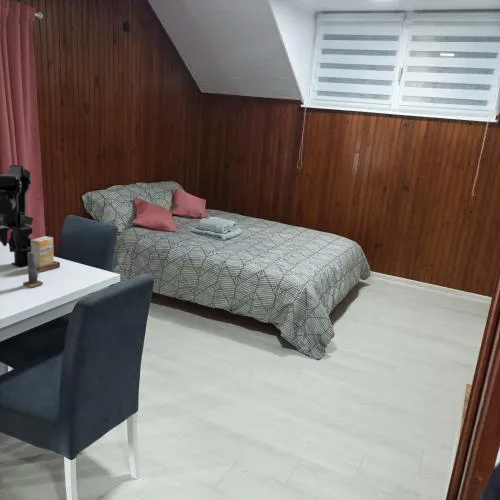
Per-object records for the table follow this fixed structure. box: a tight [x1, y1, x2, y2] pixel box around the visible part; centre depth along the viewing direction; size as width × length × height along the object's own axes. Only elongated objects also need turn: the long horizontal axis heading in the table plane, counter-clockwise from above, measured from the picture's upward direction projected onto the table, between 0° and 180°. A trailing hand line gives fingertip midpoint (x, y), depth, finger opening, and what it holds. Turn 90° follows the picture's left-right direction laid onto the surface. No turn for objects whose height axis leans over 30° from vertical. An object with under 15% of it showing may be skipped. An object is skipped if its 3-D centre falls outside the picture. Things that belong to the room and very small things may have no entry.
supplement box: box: [31, 235, 55, 267], centre depth 200 cm, size 8×5×13 cm, turn 161°
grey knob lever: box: [22, 252, 61, 288], centre depth 191 cm, size 16×22×13 cm
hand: (12, 248), depth 183 cm, fingers open, 9 cm apart
